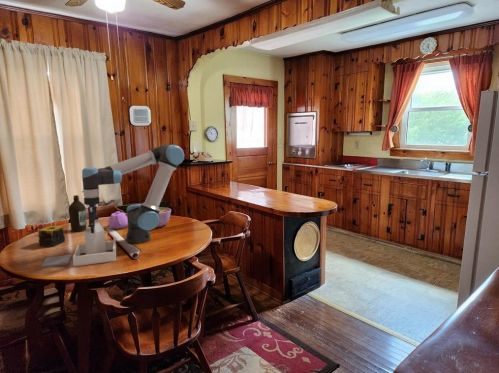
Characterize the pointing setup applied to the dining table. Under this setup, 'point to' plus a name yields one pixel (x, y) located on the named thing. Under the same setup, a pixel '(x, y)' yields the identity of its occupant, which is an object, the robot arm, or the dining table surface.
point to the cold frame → (94, 255)
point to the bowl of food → (163, 216)
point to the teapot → (118, 220)
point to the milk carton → (95, 240)
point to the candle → (51, 236)
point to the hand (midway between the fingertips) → (94, 234)
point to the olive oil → (77, 215)
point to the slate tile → (56, 261)
